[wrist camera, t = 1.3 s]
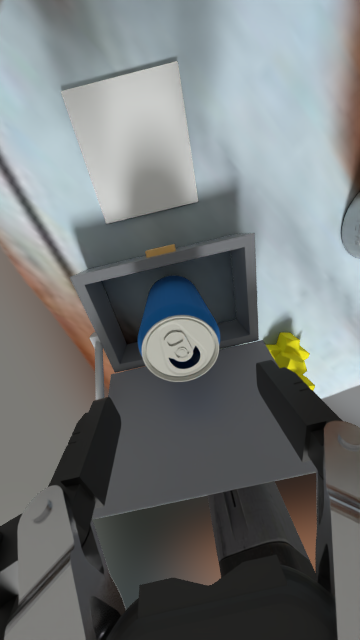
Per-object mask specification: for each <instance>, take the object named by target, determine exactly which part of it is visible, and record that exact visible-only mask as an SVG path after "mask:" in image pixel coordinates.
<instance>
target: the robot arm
mask: <svg viewBox="0 0 360 640" xmlns="http://www.w3.org/2000/svg"><path fill="white" fill-rule="evenodd" d="M342 240H343V244H344V247H345V249H346V250H347V252H348V253H349V254H350V255H352V256H354V257H356V258H360V192H359V193H358V194H357V196H356V197H355V198H354V200H353V201H352V203H351V205H350V206H349V208H348V211H347V213H346V215H345V218H344V222H343V226H342ZM256 377H257V387H258V390H259V393H260V395H261V397H262V398H263V400H264V402H265V403H266V405H267V406H268V408H269V410H270V411H271V413H272V414H273V416H274V418H275V419H276V421H277V422H278V424H279V426H280V427H281V429H282V431H283V432H284V434H285V435H286V437H287V439H288V440H289V442H290V443H291V445H292V447H293V448H294V450H295V451H296V453H297V455H298V456H299V458H300V460H301V461H302V462H306V461H310V460H311V461H312V463H313V464H314V466H315V467H316V469H317V471H316V476H317V479H316V480H317V481H316V482H317V537H316V581H315V580H313V579H312V578H310V577H309V576H307V575H306V574H304V573H302V572H300V571H298V570H296V569H294V568H291V567H288V566H285V565H280V562H279V559H278V557H277V555H272V556H268V557H263V558H259V559H254V560H250V561H245V562H242V563H241V564H240V565H238V566H237V567H236V568H234V569H233V570H232V571H230V572H229V573H227V574H226V575H225V576H223V577H222V578H221V579H219V580H218V581H217V582H215V583H214V584H212V585H209V586H207V585H202V584H198V583H193V582H189V581H185V580H181V579H177V578H169V579H165V580H160V581H156V582H152V583H148V584H143V585H140V587H139V588H140V589H139V598H138V599H137V600H136V601H135V602H133V603H132V604H131V605H130V606H129V607H128V608H127V610H126V608H125V605H124V602H123V599H122V597H121V595H120V592H119V590H118V588H117V586H116V584H115V583H114V581H113V579H112V577H111V575H110V572H109V570H108V567H107V564H106V560H105V557H104V554H103V551H102V548H101V545H100V542H99V539H98V536H97V532H96V529H95V526H94V523H93V521H92V515H93V511H94V509H95V508H99V507H104V505H105V501H106V496H107V491H108V487H109V482H110V477H111V473H112V468H113V463H114V458H115V454H116V449H117V444H118V440H119V435H120V430H121V417H120V414H119V413H118V411H117V409H116V407H115V405H114V403H113V401H112V399H111V398H110V397H107V398H102V399H98V400H95V401H93V403H92V405H91V408H90V410H89V412H88V413H85V414H84V415H83V416H82V418H81V419H80V420H79V421H78V423H77V425H76V427H75V429H74V432H73V433H72V436H71V438H70V440H69V442H68V446H67V447H66V449H65V451H64V453H63V455H62V458H61V460H60V462H59V464H58V466H57V469H56V471H55V473H54V475H53V478H52V480H51V482H50V484H49V486H48V487H47V488H45V489H44V490H42V491H41V492H40V493H38V494H37V495H36V496H35V497H34V498H33V499H32V500H31V502H30V503H29V504H28V506H27V507H26V508H25V510H24V512H23V513H22V514H20V515H19V516H17V517H15V518H13V519H12V520H10V521H8V522H7V523H5V524H3V525H2V526H0V640H360V428H359V427H358V426H356V425H353V424H351V423H348V422H344V421H342V420H341V419H340V418H339V417H338V416H337V415H336V414H335V413H334V412H333V411H332V410H331V409H330V408H329V407H328V406H327V405H326V404H325V403H324V402H323V401H322V400H321V399H320V398H319V397H318V396H317V395H316V394H315V393H314V391H313V390H311V389H310V387H309V386H308V385H307V384H306V383H304V382H303V380H302V379H301V378H300V377H299V376H298V375H297V374H296V373H295V372H293V371H291V370H289V369H287V368H286V367H283V368H279V367H278V366H277V365H276V364H275V363H274V361H272V360H267V361H263V362H258V363H256Z"/></svg>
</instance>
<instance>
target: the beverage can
mask: <svg viewBox="0 0 360 640" xmlns="http://www.w3.org/2000/svg"><path fill="white" fill-rule="evenodd" d="M219 345H220V331H219V327H218V325H217V323H216V321H215V319H214V317H213V316H212V314H211V312H210V311H209V309H208V307H207V306H206V304H205V302H204V301H203V299H202V297H201V296H200V294H199V292H198V291H197V289H196V287H195V286H194V285H193V284H192V283H191V282H190V281H189V280H188V279H186V278H184V277H181V276H167V277H164V278H161V279H160V280H158V281H157V282H156V283H155V284H154V285H153V286H152V288H151V289H150V292H149V295H148V298H147V302H146V306H145V310H144V314H143V318H142V322H141V325H140V329H139V333H138V348H139V351H140V354H141V356H142V358H143V361H144V363H145V365H146V366H147V368H148V369H149V370H150V371H151V372H152V373H153V374H155V375H156V376H158V377H160V378H162V379H164V380H168V381H173V382H184V381H189V380H193V379H196V378H198V377H200V376H202V375H203V374H205V373H206V372H207V371H208V370H209V369H210V368H211V367H212V366H213V365H214V363H215V361H216V359H217V357H218V353H219Z"/></svg>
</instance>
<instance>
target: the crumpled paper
mask: <svg viewBox="0 0 360 640" xmlns="http://www.w3.org/2000/svg"><path fill="white" fill-rule="evenodd" d="M299 344H300V340H299V339H298V338H296V337H295V336H294V335H292V334H291V333H280V334H279V337H278V340H277V343H276V345H266V347H267V348H268V350H269V352H270V353H271V355H272V357H273V358H274V360H275V362H276V363H277V365H278V367H279V368H283V367H286V368H287V369H289V370H291V371H293V372H295V373H296V374H297V375H298V376H299V377H300V378H301V379H302V380H303V382H304V383H306V384H307V385H308V386H309V387H310V389H311V390H314V388H315V385H314V384H313V383H312V382H311V381H310V380H309V379H308V378H307V377H305V376H304V375H303V374H304V373H305V372H306V371H307V369H306V365H305V362H304V360H305V359H307V358H308V357H309V353H308V352H307V351H306V350H305V349H303V348H302V347H301V346H300V345H299Z"/></svg>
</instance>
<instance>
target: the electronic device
mask: <svg viewBox="0 0 360 640" xmlns="http://www.w3.org/2000/svg"><path fill="white" fill-rule="evenodd" d="M208 501H209V507H210V513H211V519H212V525H213V531H214V537H215V543H216V550H217V556H218V560H219V566H220V572H221V578H222V577H223V576H225V575H226V574H227V573H229V572H230V571H232V570H233V569H234V568H236V567H237V566H238V565H240V564H241V563H242V562H245V561H250V560H254V559H259V558H263V557H268V556H272V555H277V557H278V559H279V562H280V565H285V566H288V567H291V568H294V569H296V570H298V571H300V572H302V573H304V574H306V575H307V576H309V577H310V578H312V579H313V580H315V581H316V573H315V571H314V569H313V566H312V564H311V563H310V560H309V557H308V555H307V553H306V551H305V549H304V546H303V544H302V542H301V540H300V537H299V535H298V533H297V531H296V528H295V526H294V524H293V522H292V520H291V517H290V515H289V513H288V511H287V508H286V506H285V504H284V502H283V499H282V497H281V495H280V493H279V491H278V488H277V486H276V484H275V482H274V481H272V482H267V483H262V484H258V485H253V486H248V487H243V488H239V489H234V490H229V491H225V492H220V493H215V494H210V495H208Z"/></svg>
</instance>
